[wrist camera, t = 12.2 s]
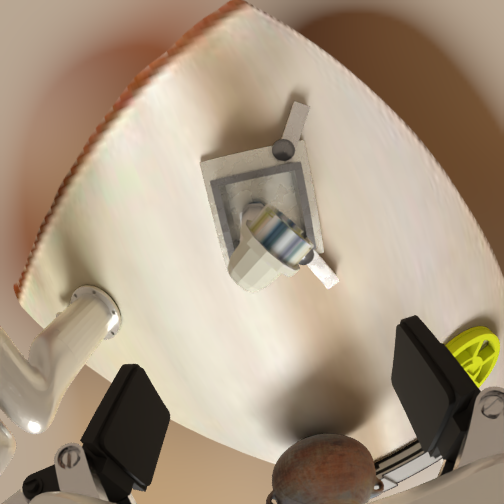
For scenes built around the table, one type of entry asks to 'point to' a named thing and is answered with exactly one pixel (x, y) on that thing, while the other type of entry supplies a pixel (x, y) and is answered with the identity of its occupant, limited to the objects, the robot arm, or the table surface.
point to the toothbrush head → (266, 247)
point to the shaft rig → (268, 191)
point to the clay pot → (325, 472)
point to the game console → (403, 465)
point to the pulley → (475, 352)
